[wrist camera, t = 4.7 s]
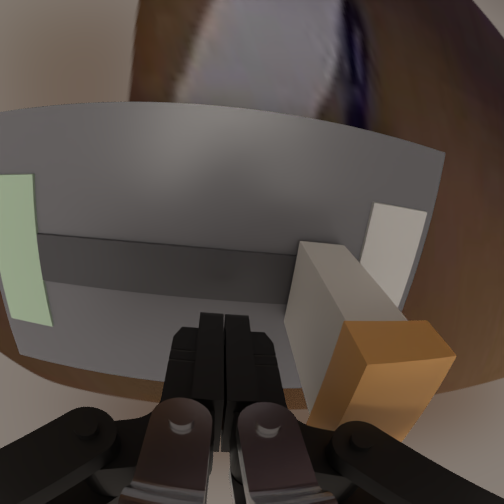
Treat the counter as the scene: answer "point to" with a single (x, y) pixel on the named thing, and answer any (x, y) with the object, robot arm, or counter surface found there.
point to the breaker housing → (190, 222)
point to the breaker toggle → (358, 346)
